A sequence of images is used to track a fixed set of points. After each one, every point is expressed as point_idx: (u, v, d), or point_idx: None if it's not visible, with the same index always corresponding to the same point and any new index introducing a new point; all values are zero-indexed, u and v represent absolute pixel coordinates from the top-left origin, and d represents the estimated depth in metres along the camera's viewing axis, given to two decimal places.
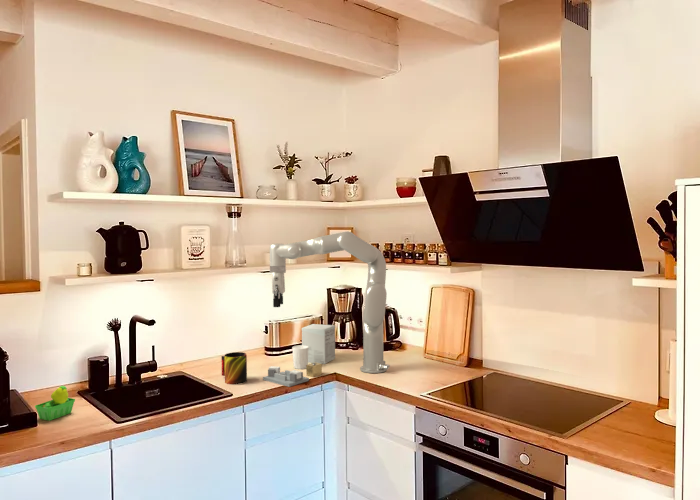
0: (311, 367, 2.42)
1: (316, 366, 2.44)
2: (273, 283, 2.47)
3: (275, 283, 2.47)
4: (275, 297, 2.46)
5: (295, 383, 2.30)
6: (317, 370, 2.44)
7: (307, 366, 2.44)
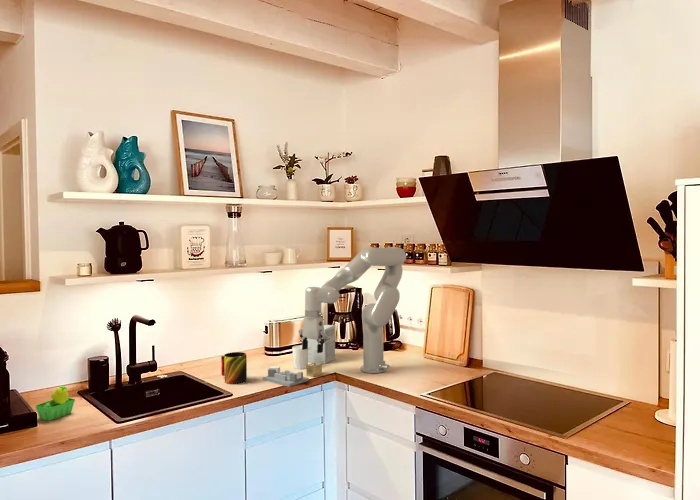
0: (311, 367, 2.42)
1: (316, 366, 2.44)
2: (318, 328, 2.40)
3: (319, 328, 2.41)
4: (322, 342, 2.40)
5: (295, 383, 2.30)
6: (317, 370, 2.44)
7: (307, 366, 2.44)
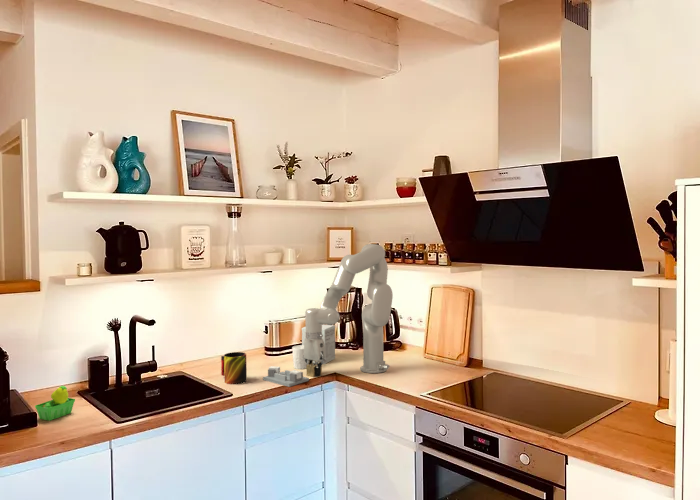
0: (311, 367, 2.42)
1: None
2: (319, 350, 2.41)
3: (321, 350, 2.41)
4: (319, 366, 2.42)
5: (295, 383, 2.30)
6: None
7: (307, 366, 2.44)
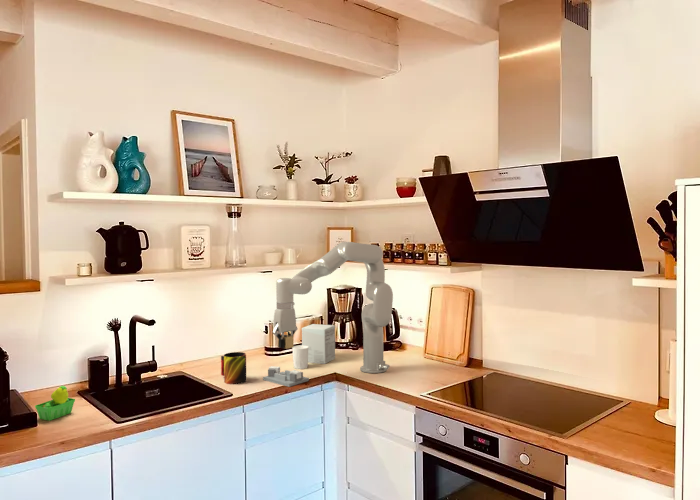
0: (292, 337, 2.36)
1: None
2: None
3: None
4: None
5: (295, 383, 2.30)
6: None
7: (287, 338, 2.34)
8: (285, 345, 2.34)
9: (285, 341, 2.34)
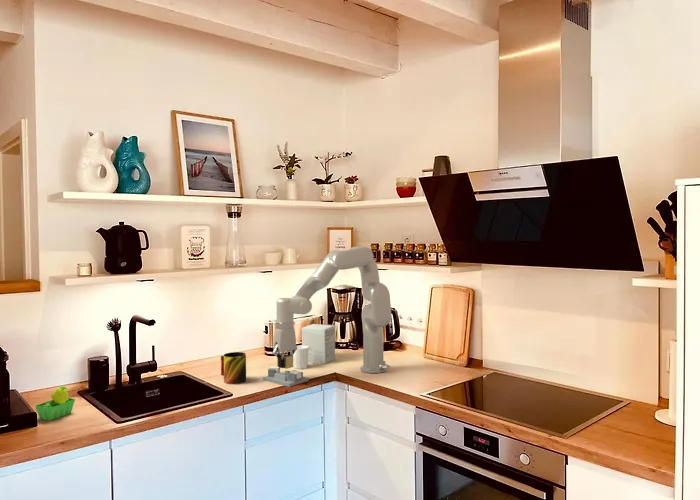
0: (292, 357, 2.36)
1: None
2: None
3: None
4: None
5: (295, 383, 2.30)
6: None
7: (287, 358, 2.34)
8: (285, 365, 2.34)
9: (285, 361, 2.34)
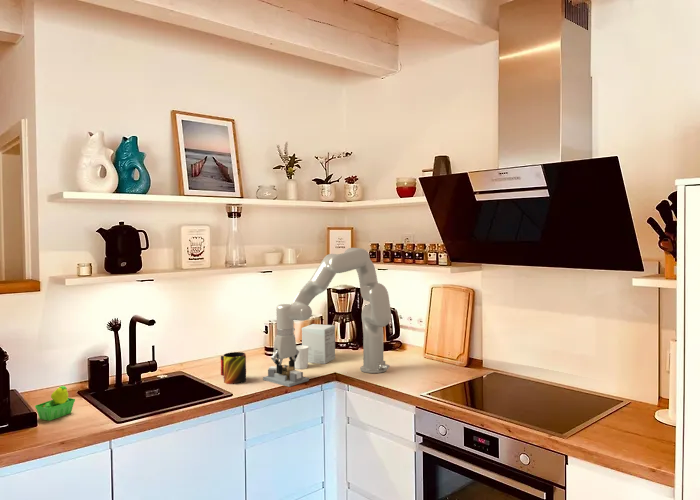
0: (292, 368, 2.36)
1: None
2: None
3: None
4: None
5: (295, 383, 2.30)
6: None
7: (288, 369, 2.34)
8: None
9: (285, 372, 2.34)
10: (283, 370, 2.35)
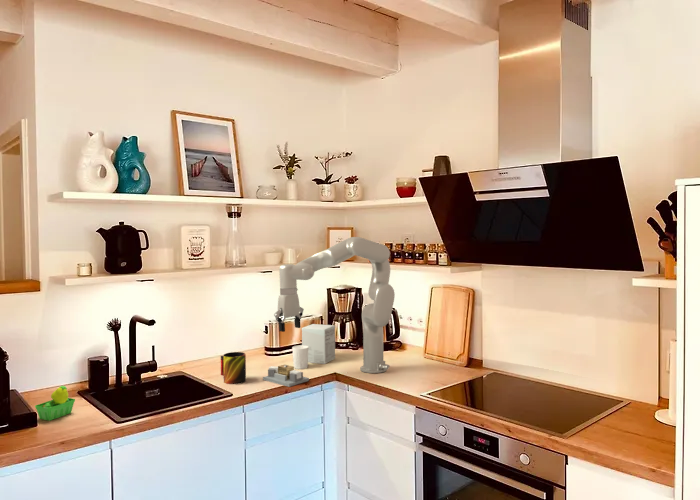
0: (292, 368, 2.36)
1: None
2: None
3: None
4: None
5: (295, 383, 2.30)
6: None
7: (288, 369, 2.34)
8: None
9: (285, 372, 2.34)
10: (283, 370, 2.35)
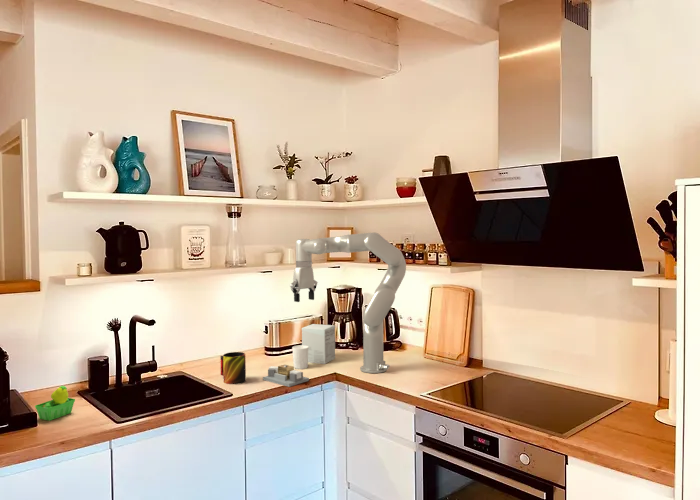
0: (292, 368, 2.36)
1: None
2: None
3: None
4: None
5: (295, 383, 2.30)
6: None
7: (288, 369, 2.34)
8: None
9: (285, 372, 2.34)
10: (283, 370, 2.35)
